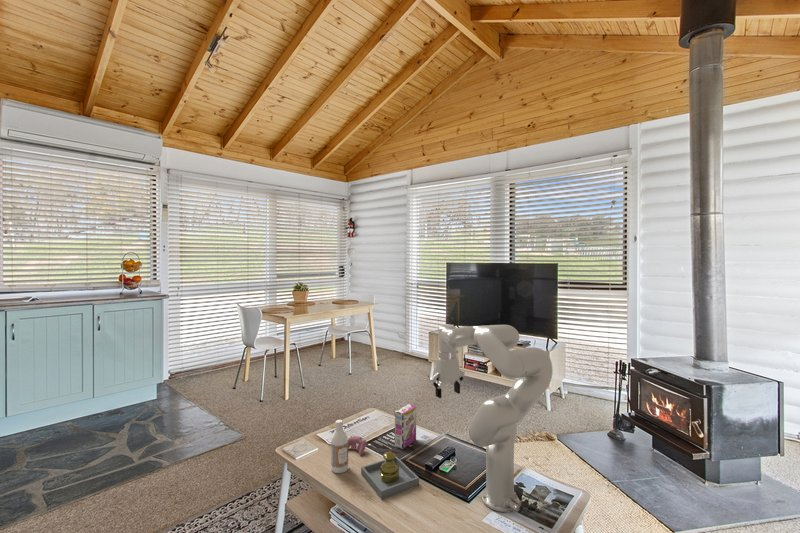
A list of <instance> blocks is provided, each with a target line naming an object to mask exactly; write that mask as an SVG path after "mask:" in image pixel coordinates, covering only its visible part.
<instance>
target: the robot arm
mask: <svg viewBox="0 0 800 533" xmlns="http://www.w3.org/2000/svg"><path fill="white" fill-rule="evenodd" d="M519 342H520V334H519V331H518V330H517V329H516V328H515V327H514V326H512V325H509V324H489V325H470V326H462V327H456V326H455V325H452V324H442V325H440V326H439V327H438V357H437V358H436V362H435V369H434V375H433V376H432V377H430V379H429V381H430V383H431V385H433V387H434V389H435V397H437V398H438V399H441V398H442V396H443V394H442V388H441V387H442V386H443V385H444V384H447V383H452V382H453V391H454V393H456V394H458V395H459V394H460V393H461V384H462V381H463V380H464V376H465V371H462V370H460V364H459V363H460V361H459V357H458V356H457V355H458V354H459V351H458V350H457V349H458V348H461V347H465V346H473V345H474V346H475V345H476V346H477V347H478V348H479V349H480V350H481V351H482V353H483V354H484V355H485V356H486V358H487V359H488V360H489V362H490V363H491V364H492V365H493V366H494V367H495V368H496V369H497V371H498V373H499V374H500V375H502V377H505V378H507V379H509V380H516V379H517V380H516V381H515V382H514V383H513V384H512V387H510V389H509V390H508V391H507V392H506V393H504V394H502V395H497V396H494V397H491V398H488V399H486V400H485V401H484V402H483V403H481V405H480V406H479V407H478V409H477V410H476V412H475V414H474V415H473V417H472V418H471V420H470V421H469V424H468V434H469V438H470V440H471V442H472V443H473V444H474V445H475V446H477V447H480V448H485V449H486V450H485V452H486V453H485V471H486V472H485V473H486V474H485V475H486V477H485V481H486V482H485V483H486V484H485V487H486V488H485V489H484V490H483V491H482V493H481V499H482V502H483V504H484V505H486V507H488V508H489V509H491V510H493V511H496V512H501V513H508V512H512V511H515V512H516V513H517V512H519V510H520V507H521V506H522V502H521V501H520V500H519V497H518V495H517V492H516V491H515V456H514V455H515V442H516V438H517V437H516V436H517V432H518V427H517V426H518V423H520V422H521V421H523V420H524V419H525V417H526V416H527V415H528V413H529V412H530V411H531V410H532V408H533V407H534V406H535V404H536V403H537V401H538V400H539V399H540V398H541V396H542V395H544V393H545V392H546V390H547V389H548V387H549V385H550V384H551V381H552V377H553V363H552V359H551V357H550V355H549V354H548V353H547V351H545V350H544V349H542V348H540V347H525V348H518V349H514V348H515V347H516V346H517V345H518V344H519ZM511 349H514V350H511Z"/></svg>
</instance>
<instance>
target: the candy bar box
mask: <svg viewBox="0 0 800 533" xmlns="http://www.w3.org/2000/svg"><path fill="white" fill-rule="evenodd" d="M394 411H395V410H394ZM416 441H417V406H416V405H413V404H406V405H405V406H404V405H403V407H400V408H399V409H397V410H396V411H395V412H394V447H395V448H397V449H398V448H399V449H400V450H404V449H405V448H407V447H408V446H410V445H411V444H412V443H414V442H416Z"/></svg>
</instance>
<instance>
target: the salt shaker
mask: <svg viewBox="0 0 800 533" xmlns="http://www.w3.org/2000/svg"><path fill="white" fill-rule="evenodd" d="M396 456H397V454H396V453H394V452H393V451H386V452H384V453H383V455H382V457H383V460H385V459H386V461H385V462H384V463H383V464H382V465H381V466H380V471H381V472H380V478H381V480H382V481H383V482H386V483H393V482H395V481H397V480H398V479H399V465H398V464H397V463H395V462H394V461H393V459H394V458H395V457H396Z"/></svg>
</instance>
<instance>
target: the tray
mask: <svg viewBox="0 0 800 533" xmlns="http://www.w3.org/2000/svg"><path fill="white" fill-rule="evenodd" d="M385 461H386V459H381V460H379V461H376V462H373V463H369V464H366V465H363V466H361V467H360V474H361V477H363V479H364V480H365V481H366V483H368V485H369V486H370V487H371V488H372V490H373V491H374V492H375V493H376V494H377V496H378V497H379V498H380V500H384V499H387V498H390V497H392V496H394V495H397V494H401V493H402V492H406V491H408V490H410V489H414V488H417V487H419V486H420V477H419V476H418V475H417V474H415V472H414V471H413V470H412V469H410V468H409V467H408V466H407V465H406V464H405V463H404V461H402V460H401V459H400V458H398V456H397V455H396V457H395V458H394V459H393V461H394V462H395V463H397V464H398V465H399V479H398V480H397V481H395V482H393V483H386V482H383V481H382V480H381V478H380V472H381V471H380V466H381V465H382V464H383V463H384V462H385Z"/></svg>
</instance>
